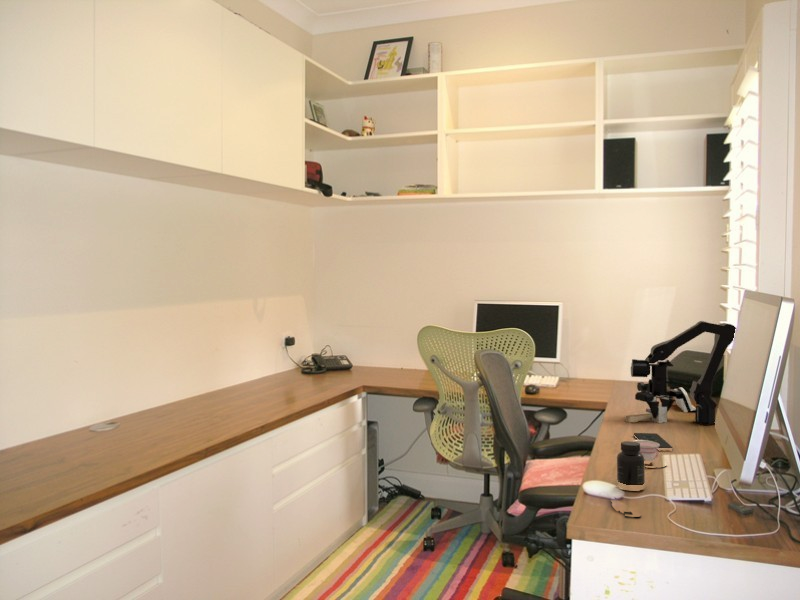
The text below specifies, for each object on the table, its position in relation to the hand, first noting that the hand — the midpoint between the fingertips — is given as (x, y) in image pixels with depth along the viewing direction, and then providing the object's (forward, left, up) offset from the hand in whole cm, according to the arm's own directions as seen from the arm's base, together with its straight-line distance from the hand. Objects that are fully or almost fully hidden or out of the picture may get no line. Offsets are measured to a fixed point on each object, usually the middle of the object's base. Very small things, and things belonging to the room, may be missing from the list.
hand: (659, 417), depth 247 cm
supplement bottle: (-60, +65, -2) cm, 89 cm away
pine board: (+4, +5, -2) cm, 6 cm away
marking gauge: (+2, 0, -2) cm, 3 cm away
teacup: (-43, +45, -2) cm, 62 cm away
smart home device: (-25, +26, -2) cm, 36 cm away
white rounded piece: (+16, -28, -2) cm, 32 cm away
